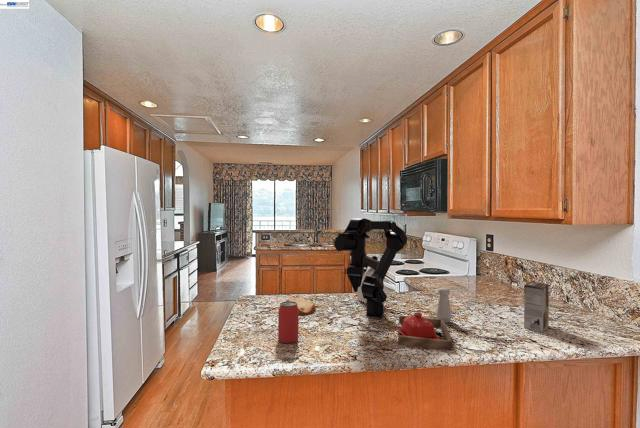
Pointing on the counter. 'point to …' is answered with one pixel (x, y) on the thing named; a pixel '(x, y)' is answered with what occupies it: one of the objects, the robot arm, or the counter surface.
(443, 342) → the walnut bay
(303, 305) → the slice of bread
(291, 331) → the beer can
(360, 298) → the milk carton
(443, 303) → the salt shaker
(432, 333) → the butter dish
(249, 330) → the counter surface
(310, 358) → the counter surface
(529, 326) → the coffee box
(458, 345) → the counter surface
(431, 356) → the counter surface
